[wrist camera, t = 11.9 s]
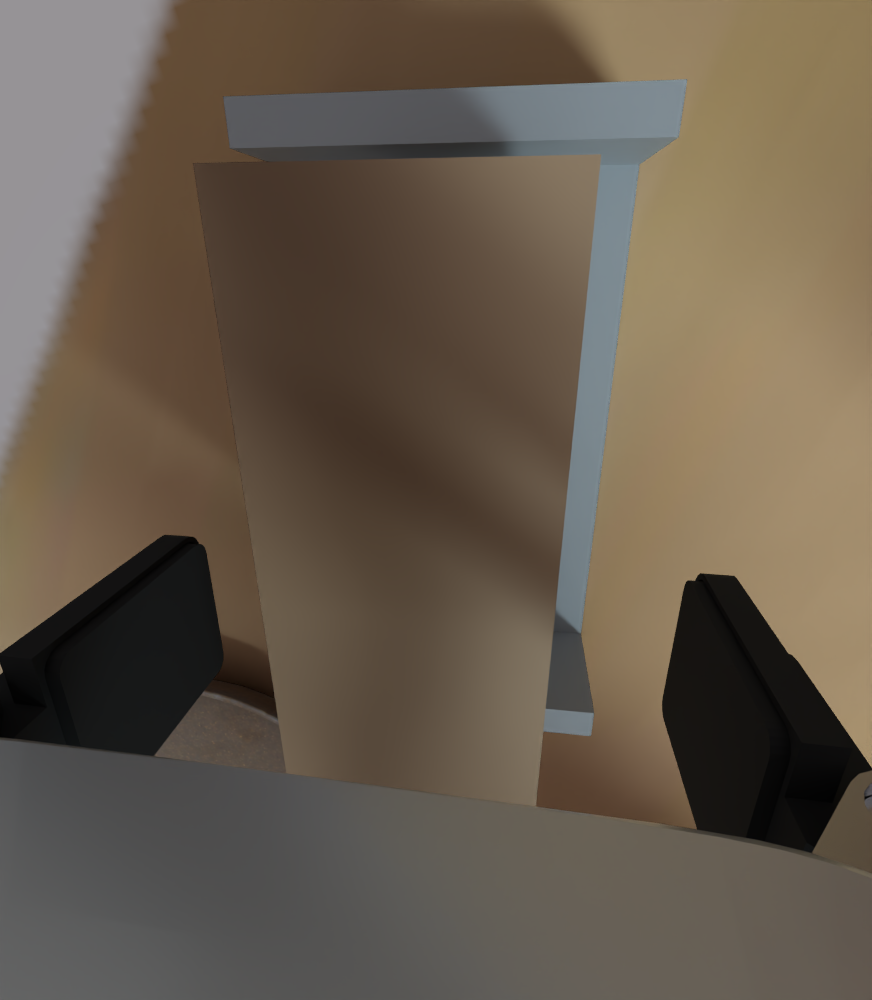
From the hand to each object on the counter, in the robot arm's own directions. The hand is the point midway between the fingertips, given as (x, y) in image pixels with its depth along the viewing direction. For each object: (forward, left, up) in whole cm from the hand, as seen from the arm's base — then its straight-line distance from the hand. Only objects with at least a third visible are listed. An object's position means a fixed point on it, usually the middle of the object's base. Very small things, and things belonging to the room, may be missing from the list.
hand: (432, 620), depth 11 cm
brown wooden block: (0, -1, -7) cm, 7 cm away
